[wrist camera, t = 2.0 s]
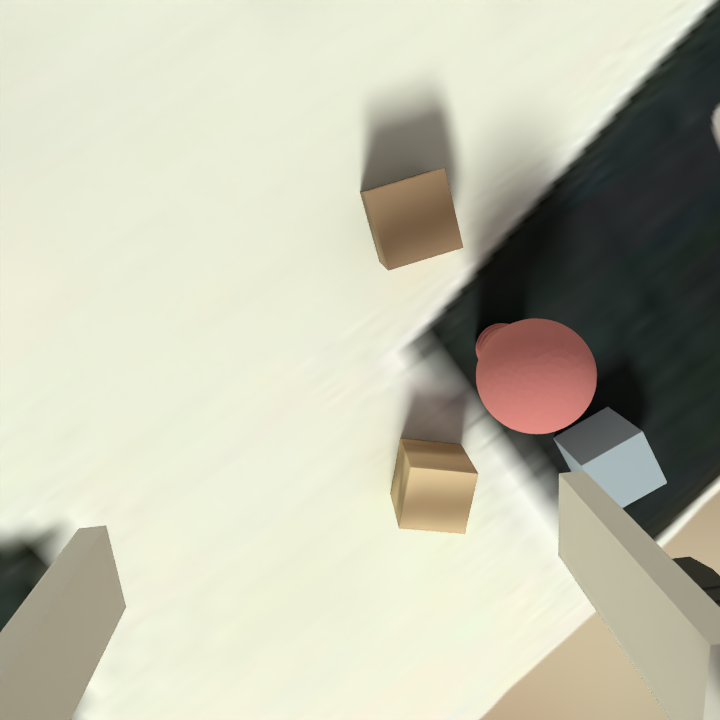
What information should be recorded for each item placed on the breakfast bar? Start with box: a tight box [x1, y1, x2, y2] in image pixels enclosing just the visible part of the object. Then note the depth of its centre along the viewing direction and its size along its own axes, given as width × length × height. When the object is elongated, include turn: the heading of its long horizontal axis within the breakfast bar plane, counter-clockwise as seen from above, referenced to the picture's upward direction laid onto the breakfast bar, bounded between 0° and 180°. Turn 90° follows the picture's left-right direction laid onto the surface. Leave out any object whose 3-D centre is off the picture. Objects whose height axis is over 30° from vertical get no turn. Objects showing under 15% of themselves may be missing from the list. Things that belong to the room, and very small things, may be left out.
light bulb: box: [476, 319, 597, 434], centre depth 37 cm, size 7×7×12 cm
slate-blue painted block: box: [554, 407, 667, 508], centre depth 44 cm, size 5×5×5 cm
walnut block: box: [360, 168, 463, 270], centre depth 37 cm, size 5×5×5 cm
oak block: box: [390, 438, 478, 534], centre depth 43 cm, size 5×5×5 cm
